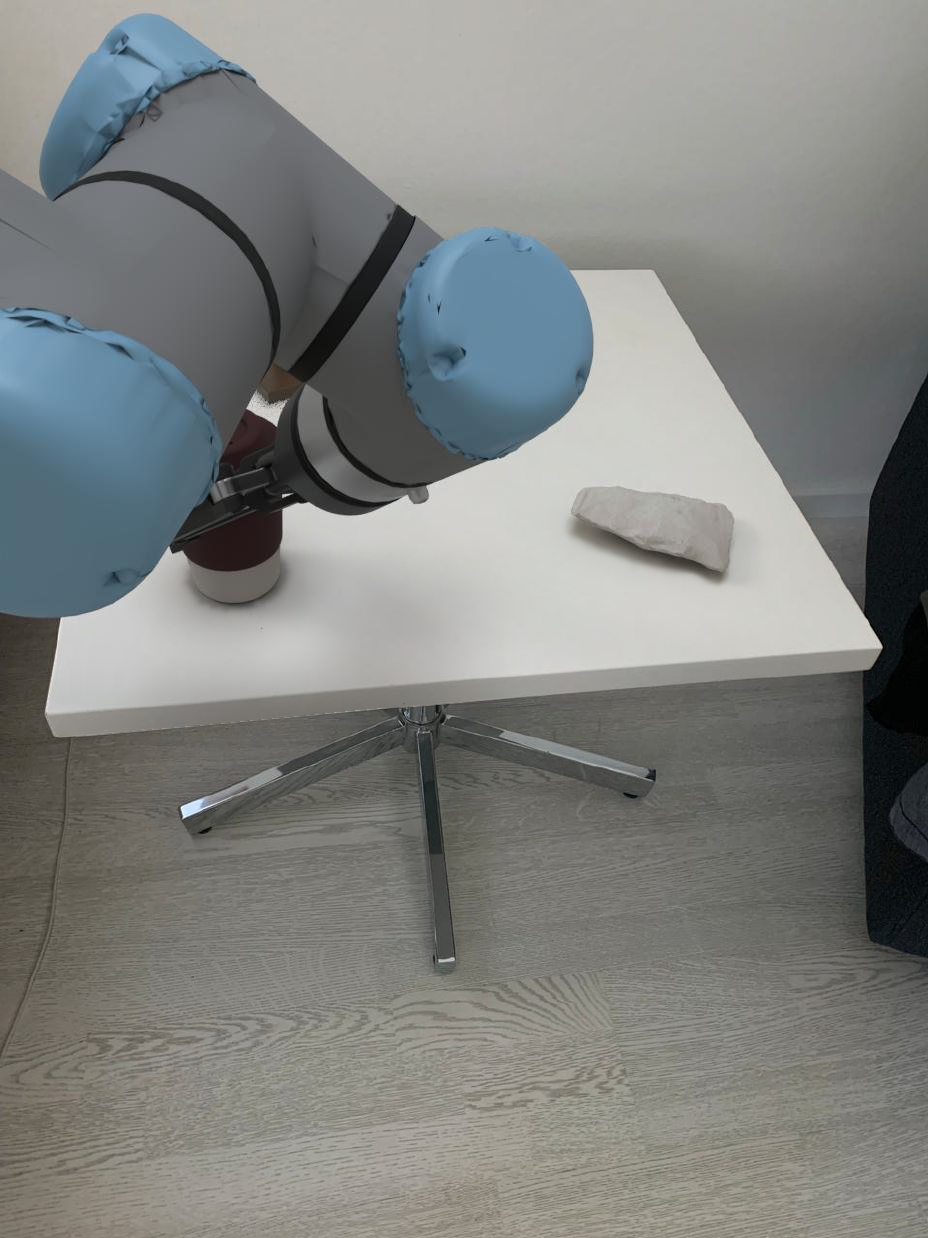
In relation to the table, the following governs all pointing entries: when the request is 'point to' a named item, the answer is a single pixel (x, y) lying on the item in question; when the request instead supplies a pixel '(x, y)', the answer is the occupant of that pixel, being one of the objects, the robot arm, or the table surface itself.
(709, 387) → the table surface
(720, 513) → the decorative stone
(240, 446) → the coffee cup
